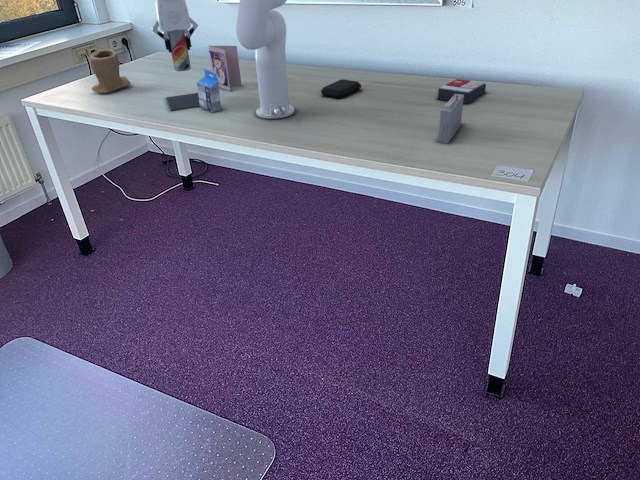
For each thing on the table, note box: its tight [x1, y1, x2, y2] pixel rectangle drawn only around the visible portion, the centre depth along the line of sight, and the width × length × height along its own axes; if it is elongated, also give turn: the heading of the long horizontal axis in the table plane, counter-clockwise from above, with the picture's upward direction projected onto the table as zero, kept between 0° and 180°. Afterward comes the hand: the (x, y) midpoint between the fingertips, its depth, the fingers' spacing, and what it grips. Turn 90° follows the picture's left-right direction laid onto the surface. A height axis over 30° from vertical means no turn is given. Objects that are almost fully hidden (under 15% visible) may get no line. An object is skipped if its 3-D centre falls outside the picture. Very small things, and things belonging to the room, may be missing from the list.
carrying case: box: [320, 78, 362, 99], centre depth 188 cm, size 11×3×15 cm
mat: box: [166, 92, 202, 112], centre depth 188 cm, size 16×14×1 cm
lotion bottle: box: [168, 29, 192, 72], centre depth 177 cm, size 6×6×20 cm
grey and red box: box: [437, 78, 487, 105], centre depth 178 cm, size 11×4×15 cm
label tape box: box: [196, 68, 222, 113], centre depth 176 cm, size 9×4×12 cm, turn 40°
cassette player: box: [437, 94, 464, 144], centre depth 148 cm, size 16×3×10 cm, turn 154°
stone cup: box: [89, 49, 131, 94], centre depth 202 cm, size 15×12×15 cm
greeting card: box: [207, 45, 243, 92], centre depth 198 cm, size 11×7×15 cm, turn 42°
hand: (179, 50), depth 179 cm, fingers closed on lotion bottle, 5 cm apart
